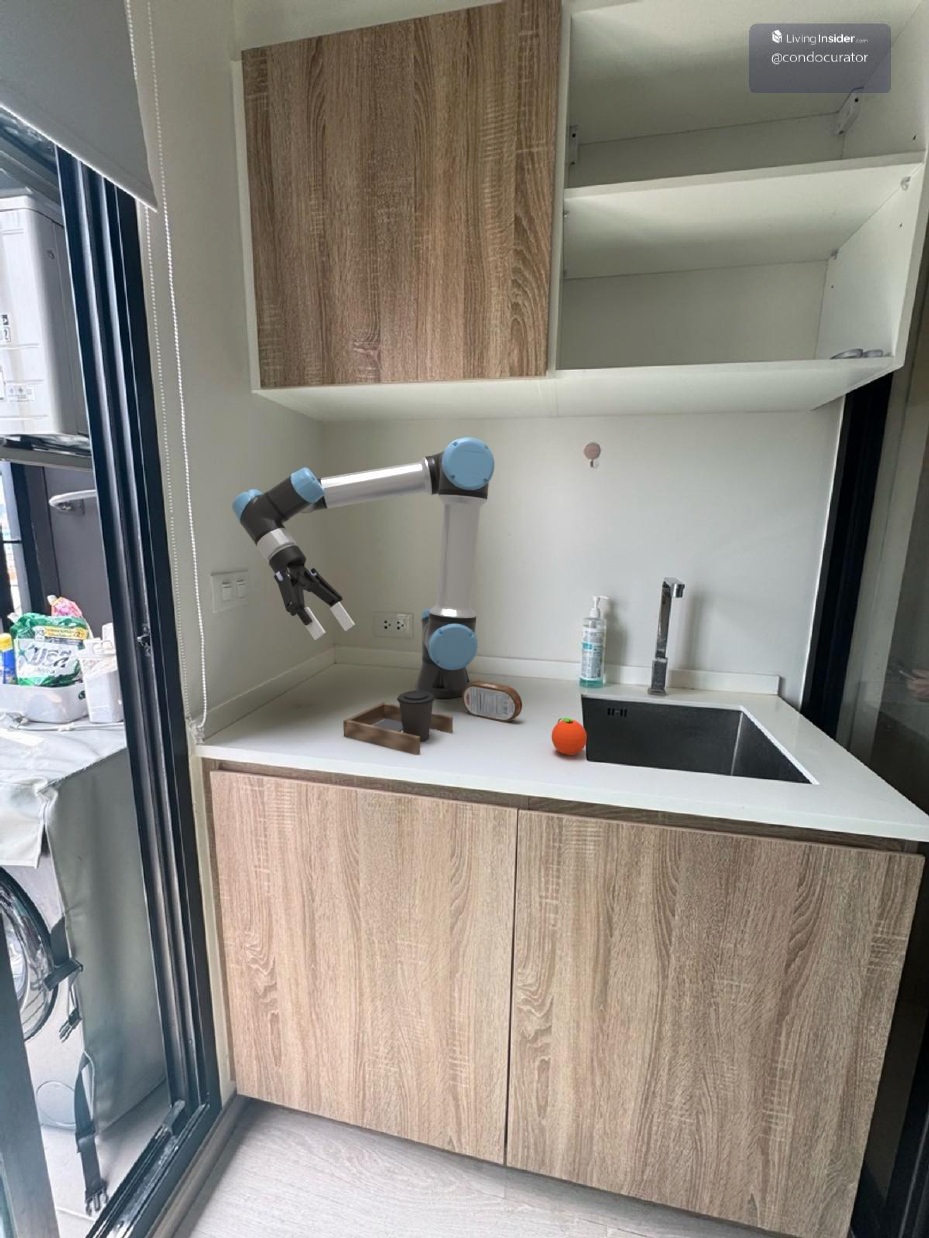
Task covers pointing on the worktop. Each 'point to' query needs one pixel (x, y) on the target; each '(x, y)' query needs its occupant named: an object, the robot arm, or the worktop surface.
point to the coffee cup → (416, 713)
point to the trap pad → (390, 725)
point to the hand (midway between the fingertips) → (336, 632)
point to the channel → (366, 732)
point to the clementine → (569, 736)
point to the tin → (492, 701)
